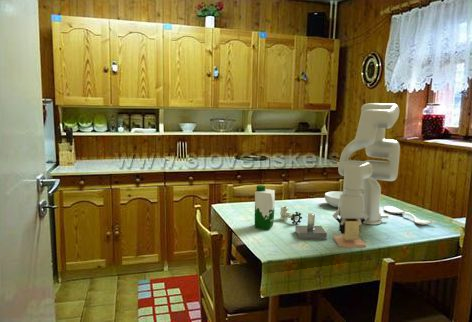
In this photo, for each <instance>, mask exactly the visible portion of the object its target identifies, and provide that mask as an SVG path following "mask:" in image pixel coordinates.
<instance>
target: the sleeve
mask: <svg viewBox="0 0 472 322" xmlns="http://www.w3.org/2000/svg"><path fill="white" fill-rule="evenodd" d="M359 225H360V221H359V220H357V219H345V220H344V234H342V233H341V232H340V231H339V232H340V234H339V236H342V237H343V238H344V239H345V240H358V239H359V238H360V237H359V235H360V232H359ZM360 226H361V225H360Z"/></svg>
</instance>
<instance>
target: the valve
mask: <svg viewBox="0 0 472 322" xmlns="http://www.w3.org/2000/svg"><path fill="white" fill-rule="evenodd" d="M279 215H280V218H279V219H280V220H281V221H284V222H286V221H288V219H290V221H291V224H293V225H294V226H299V225H298V224H299V223H301V222H302V221H301V220H302V219H303V216H301V215H302V213H301V212H298V211H295V213H291V212H289V207H288V206H285V205H283V206H281V207H280V213H279Z"/></svg>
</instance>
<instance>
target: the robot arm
mask: <svg viewBox="0 0 472 322" xmlns="http://www.w3.org/2000/svg"><path fill="white" fill-rule="evenodd" d="M399 116H400V107H399V106H398V104H396V103H384V102H383V103H380V102H373V103H372V102H370V103H365V104H363V105H362V106H361V108H360V116H359V122H358V125H357V129H356V133H355V137H354V139H353V140H352V141H350V142H348V144H347V145H346V146H345V147H344V149H342V151H341V153H340V157H339V162H338V167H337V168H338V169H337V170H338V174H339V175H340V176H342V177H343V188H342V192H343V194H341V196H340V200H339V205H338V208H337V210H336V211H335V212H334V214H333V215H332V217H333V218H334V219H335V220H336V221H337V222H338V223H339V227H338V229H339V230H338V231H339V232H341V233H342V234H344V220H345V219H357V220H359V221H360V225H359V233H360V232H361V226H362V224H365V225H372V226H373V225H375V226H376V225H380V224H382V220H383V219H389V215H388V214H384V213H380V206H381V197H382V196H381V195H382V193H381V192H382V187H381V185H380V183H379V182H378V181H384V182H385V181H387V182H394V181H396V180H397V178H398V176H399V164H400V155H401V146H400V142H399V141H397V140H396V139H389V138H387V139H386V138H385V137H386V129H387V130H389V129H392V128H393V126H394V125H395V124H396V122H397V121H398V119H399ZM362 149H365V154H366V156H367V157H369V158H375V160H374V159H367V160H363V161H362V160H355V159H349V157H350V156H351V155H352V154H353V153H355V152H357V151H359V150H362ZM376 158H377V159H384V160H376ZM385 159H387V160H388V161H385ZM338 216H339V217H340V218H339V217H338Z"/></svg>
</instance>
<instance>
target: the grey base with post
mask: <svg viewBox="0 0 472 322" xmlns="http://www.w3.org/2000/svg"><path fill="white" fill-rule="evenodd" d="M315 219H316V214H315V213H313V212H312V213H310V212H309V213H307V225H294V228H295V231H294V233H295V234H296V236H297V238H298V240H310V241H311V240H314V241H315V240H319V241H320V240H322V241H323V240H324V241H326V240H327V236H328V235H327V232H326V230H325V229H324V228H323V226H322V225H315V221H316V220H315Z"/></svg>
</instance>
